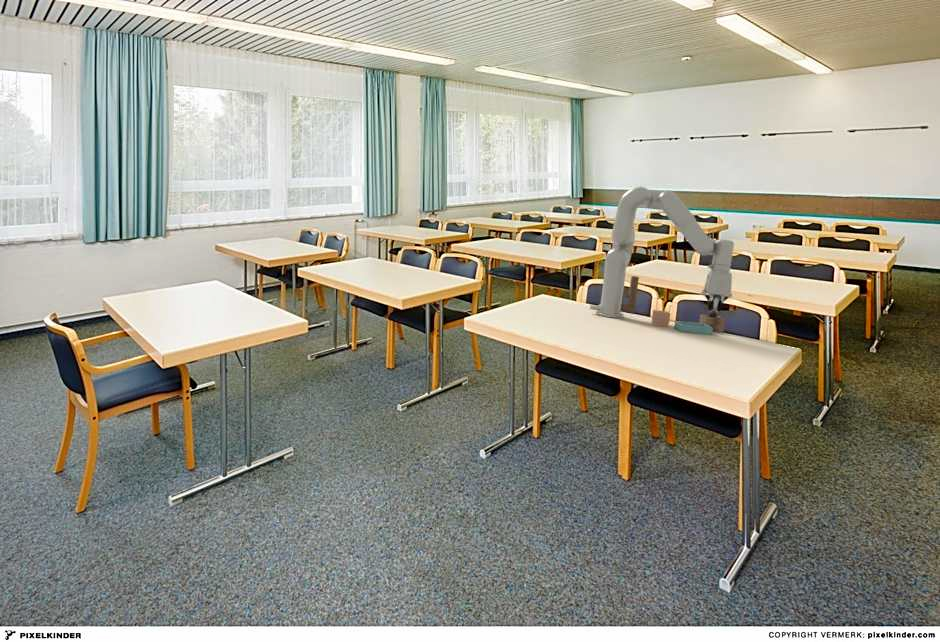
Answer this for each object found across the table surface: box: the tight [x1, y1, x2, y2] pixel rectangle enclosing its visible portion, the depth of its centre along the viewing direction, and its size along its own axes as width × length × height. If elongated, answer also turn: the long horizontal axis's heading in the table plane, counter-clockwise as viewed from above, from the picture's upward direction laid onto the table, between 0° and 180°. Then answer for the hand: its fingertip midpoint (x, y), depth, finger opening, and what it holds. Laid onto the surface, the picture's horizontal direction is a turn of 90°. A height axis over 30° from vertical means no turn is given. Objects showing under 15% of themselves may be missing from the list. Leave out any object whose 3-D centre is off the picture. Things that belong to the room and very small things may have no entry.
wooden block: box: [621, 275, 640, 314], centre depth 291 cm, size 4×11×18 cm, turn 52°
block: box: [651, 309, 671, 328], centre depth 258 cm, size 6×6×6 cm
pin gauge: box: [709, 295, 720, 317], centre depth 255 cm, size 3×3×10 cm
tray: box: [673, 320, 713, 335], centre depth 249 cm, size 13×10×3 cm
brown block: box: [698, 314, 726, 334], centre depth 256 cm, size 8×8×6 cm
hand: (714, 310), depth 255 cm, fingers closed on pin gauge, 3 cm apart
